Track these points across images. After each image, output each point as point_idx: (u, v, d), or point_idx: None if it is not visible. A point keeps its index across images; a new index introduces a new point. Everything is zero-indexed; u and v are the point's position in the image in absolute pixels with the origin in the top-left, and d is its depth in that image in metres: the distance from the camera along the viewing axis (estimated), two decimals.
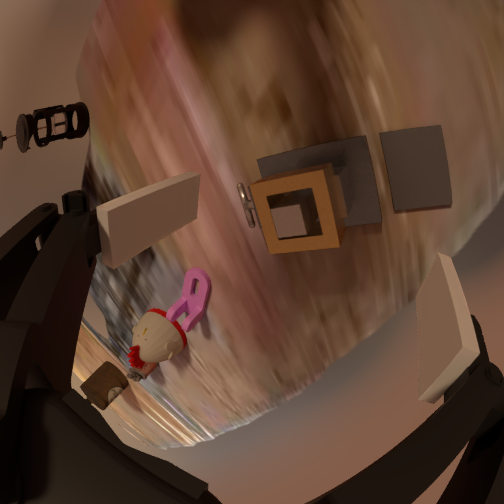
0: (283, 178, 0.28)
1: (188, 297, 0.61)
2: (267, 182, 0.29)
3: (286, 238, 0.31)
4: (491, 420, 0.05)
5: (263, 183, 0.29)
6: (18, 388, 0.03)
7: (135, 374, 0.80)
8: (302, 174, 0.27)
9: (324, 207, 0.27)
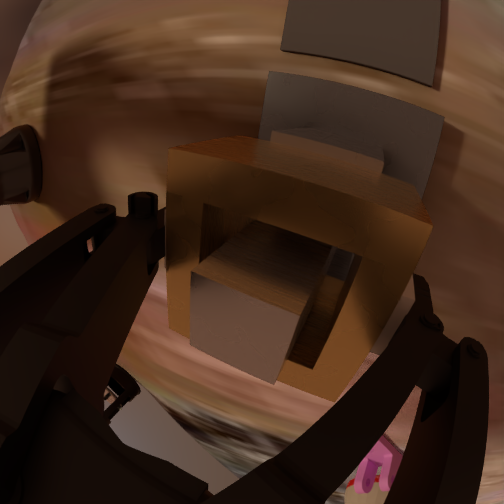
0: (168, 257, 0.11)
1: (367, 455, 0.31)
2: (169, 294, 0.11)
3: (321, 350, 0.10)
4: (434, 368, 0.07)
5: (170, 303, 0.12)
6: (38, 403, 0.03)
7: None
8: (168, 208, 0.10)
9: (272, 197, 0.08)
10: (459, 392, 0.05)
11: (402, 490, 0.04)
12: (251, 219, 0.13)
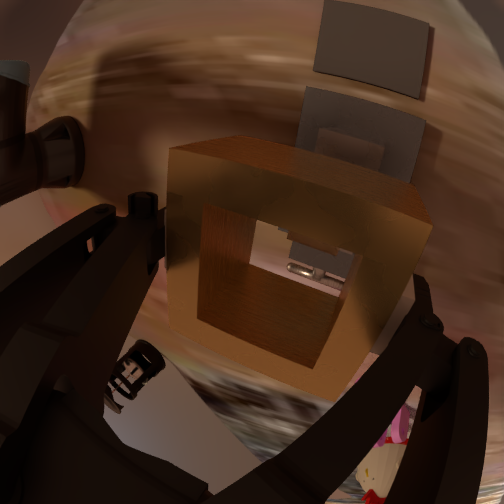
0: (168, 257, 0.11)
1: None
2: (169, 294, 0.11)
3: (321, 350, 0.10)
4: (434, 368, 0.07)
5: (170, 303, 0.12)
6: (38, 403, 0.03)
7: None
8: (168, 208, 0.10)
9: (272, 197, 0.08)
10: (459, 392, 0.05)
11: (402, 490, 0.04)
12: (251, 219, 0.13)
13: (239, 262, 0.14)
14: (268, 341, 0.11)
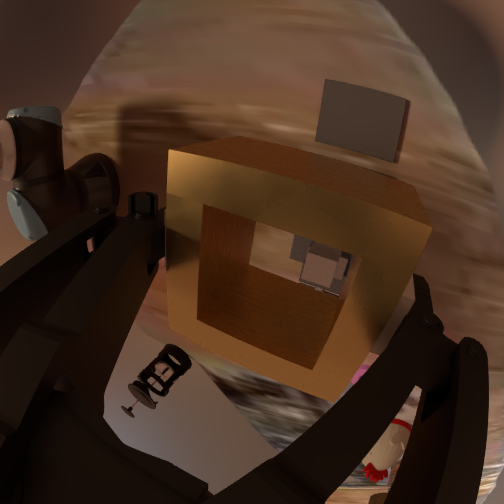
0: (168, 258, 0.11)
1: None
2: (169, 295, 0.11)
3: (320, 351, 0.10)
4: (434, 368, 0.07)
5: (170, 304, 0.12)
6: (38, 403, 0.03)
7: None
8: (168, 209, 0.10)
9: (272, 199, 0.08)
10: (459, 392, 0.05)
11: (402, 490, 0.04)
12: (251, 220, 0.13)
13: (239, 263, 0.14)
14: (268, 342, 0.11)
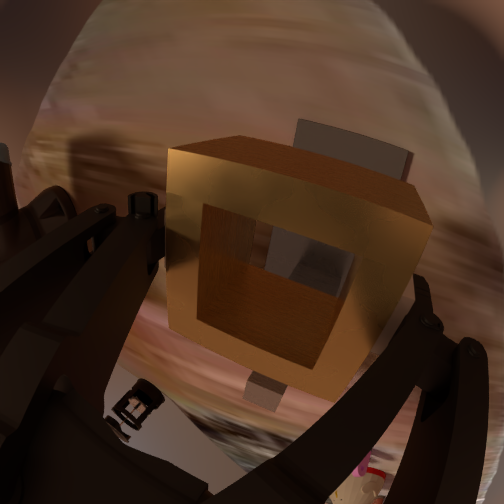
0: (168, 257, 0.11)
1: None
2: (169, 295, 0.11)
3: (321, 351, 0.10)
4: (434, 368, 0.07)
5: (170, 303, 0.12)
6: (38, 403, 0.03)
7: None
8: (168, 208, 0.10)
9: (272, 198, 0.08)
10: (459, 392, 0.05)
11: (402, 490, 0.04)
12: (251, 219, 0.13)
13: (239, 262, 0.14)
14: (268, 342, 0.11)
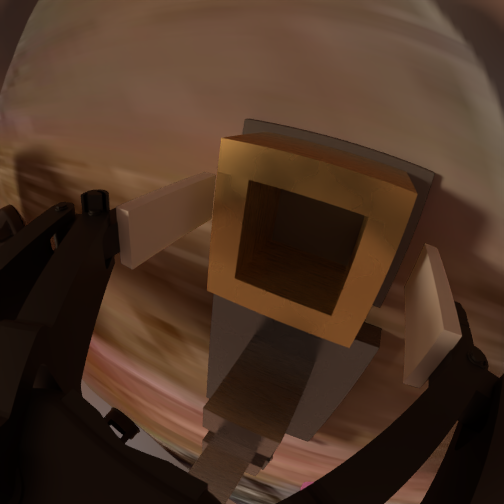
0: (214, 226, 0.13)
1: None
2: (211, 258, 0.14)
3: (338, 298, 0.12)
4: (476, 404, 0.05)
5: (211, 266, 0.14)
6: (24, 392, 0.03)
7: None
8: (218, 185, 0.12)
9: (303, 175, 0.11)
10: (496, 424, 0.04)
11: None
12: (276, 200, 0.16)
13: (265, 236, 0.17)
14: (294, 295, 0.14)
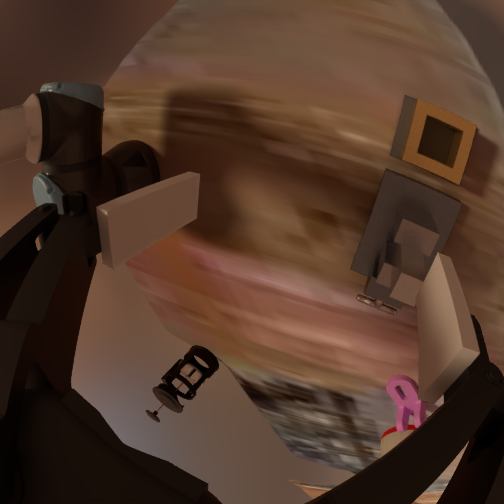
0: (411, 130, 0.27)
1: (403, 403, 0.48)
2: (407, 144, 0.28)
3: (454, 162, 0.26)
4: (491, 420, 0.05)
5: (406, 147, 0.28)
6: (18, 388, 0.03)
7: None
8: (414, 114, 0.26)
9: (444, 115, 0.24)
10: None
11: None
12: None
13: None
14: (438, 161, 0.28)
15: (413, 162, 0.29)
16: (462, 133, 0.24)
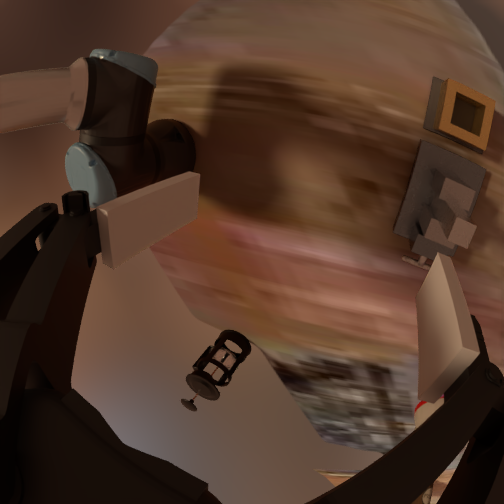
0: (444, 104, 0.28)
1: None
2: (442, 115, 0.29)
3: (480, 131, 0.27)
4: (491, 420, 0.05)
5: (442, 118, 0.29)
6: (18, 388, 0.03)
7: None
8: (446, 91, 0.27)
9: (470, 92, 0.25)
10: None
11: None
12: None
13: None
14: (467, 131, 0.28)
15: (448, 131, 0.30)
16: (484, 107, 0.25)
